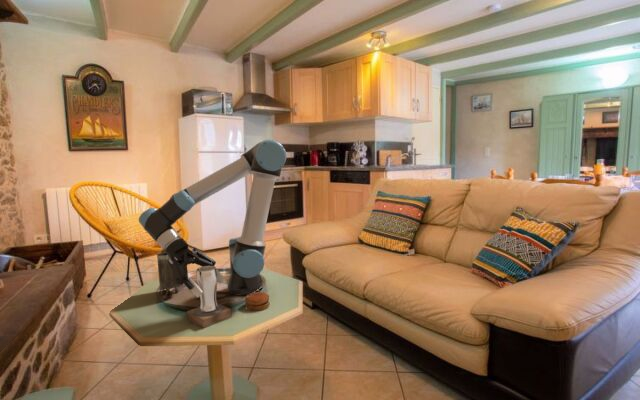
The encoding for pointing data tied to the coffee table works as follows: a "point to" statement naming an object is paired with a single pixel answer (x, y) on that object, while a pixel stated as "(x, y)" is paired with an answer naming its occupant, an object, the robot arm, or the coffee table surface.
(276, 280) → the coffee table surface
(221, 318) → the walnut plinth
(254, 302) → the burger
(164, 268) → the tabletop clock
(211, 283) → the silver metal cup
